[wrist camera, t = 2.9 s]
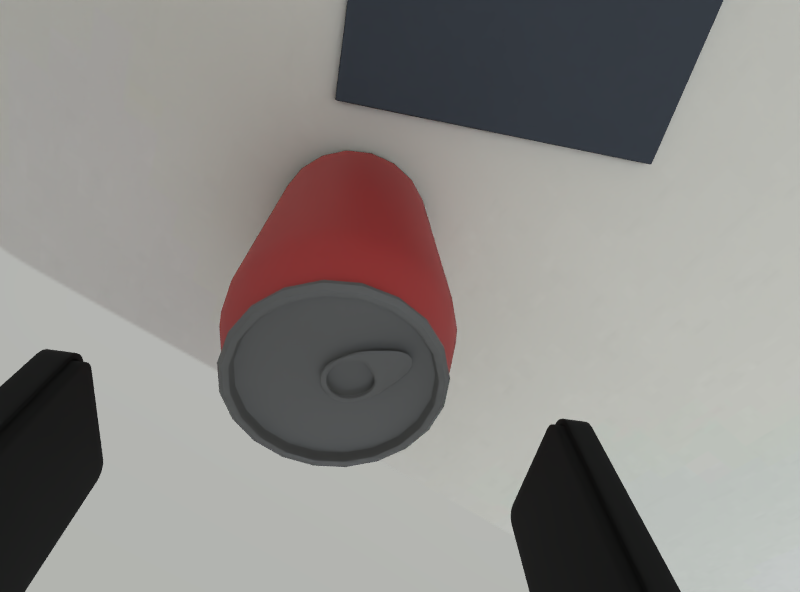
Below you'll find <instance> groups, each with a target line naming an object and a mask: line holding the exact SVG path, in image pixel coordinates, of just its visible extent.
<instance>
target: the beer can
mask: <svg viewBox="0 0 800 592" xmlns="http://www.w3.org/2000/svg"><path fill="white" fill-rule="evenodd" d="M456 334H457V326H456V320H455V314H454V308H453V302H452V297H451V294H450V290H449V287H448V284H447V280H446V277H445V274H444V270H443V267H442V264H441V260H440V257H439V254H438V250H437V247H436V244H435V240H434V237H433V234H432V230H431V227H430V224H429V220H428V217H427V214H426V210H425V207H424V204H423V200H422V198H421V197H420V195H419V193H418V191H417V189H416V187H415V186H414V184H413V182H412V180H411V179H410V178H409V177H408V176H407V175H406V174H404V173H403V172H402V171H401V170H400V169H399V168H398V167H397V166H396V165H395V164H394V163H391V162H389V161H387V160H385V159H383V158H380V157H378V156H376V155H374V154H372V153H364V152H355V151H342V152H338V153H333V154H328V155H324V156H321V157H320V158H318V159H316V160H315V161H313V162H311V163H310V164H308V165H306V166H305V167H303V168H302V169H301V170H300V171H299V173H298V174H297V175H296V176H295V177H294V179H293V180H292V181H291V182H290V183H289V185H288V186H287V188H286V189H285V191H284V193H283V194H282V196H281V198H280V199H279V201H278V203H277V204H276V206H275V208H274V209H273V211H272V213H271V215H270V216H269V218H268V220H267V221H266V223H265V225H264V226H263V228H262V230H261V231H260V233H259V235H258V236H257V238H256V240H255V241H254V243H253V245H252V247H251V248H250V250H249V252H248V253H247V255H246V257H245V258H244V260H243V262H242V263H241V265H240V267H239V268H238V270H237V272H236V274H235V275H234V277H233V279H232V280H231V283H230V286H229V289H228V292H227V296H226V299H225V302H224V305H223V308H222V311H221V318H220V341H221V353H220V356H219V359H218V362H217V366H218V379H219V392H220V394H221V396H222V398H223V400H224V402H225V405H226V406H227V409H228V411H229V413H230V415H231V417H232V419H233V420H234V421H235V422H236V423H237V424H238V425H239V426H240V427H241V428H242V429H243V430H244V431H245V432H246V433H247V434H248V435H249V436H250V437H251V438H252V439H253V440H254V441H256V442H258V443H259V444H261V445H263V446H264V447H266V448H268V449H270V450H272V451H273V452H275V453H277V454H279V455H281V456H282V457H285V458H289V459H293V460H296V461H300V462H304V463H307V464H311V465H316V466H338V467H347V466H353V465H358V464H364V463H370V462H375V461H379V460H381V459H383V458H385V457H388V456H390V455H392V454H394V453H397V452H399V451H401V450H403V449H406V448H407V447H408V446H409V445H411V444H412V443H413V442H414V441H416V440H417V439H418V438H419V437H420V436H422V435H423V434H424V433H425V432H427V431H428V430H429V429H430V427H431V425H432V424H433V422H434V421H435V419H436V418H437V416H438V415H439V413H440V411H441V410H442V408H443V407H444V404H445V399H446V394H447V390H448V385H449V380H450V376H449V372H450V367H451V363H452V358H453V353H454V348H455V343H456Z"/></svg>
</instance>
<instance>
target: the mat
mask: <svg viewBox="0 0 800 592" xmlns="http://www.w3.org/2000/svg"><path fill="white" fill-rule="evenodd" d="M722 2H723V0H348V2H347V10H346V18H345V26H344V34H343V42H342V50H341V58H340V66H339V74H338V82H337V90H336V98H335V99H336V100H338V101H343V102H347V103H352V104H357V105H362V106H367V107H372V108H377V109H382V110H387V111H392V112H396V113H401V114H406V115H411V116H416V117H421V118H426V119H431V120H436V121H441V122H445V123H450V124H455V125H460V126H465V127H470V128H475V129H480V130H485V131H490V132H494V133H499V134H504V135H509V136H514V137H519V138H524V139H529V140H534V141H539V142H543V143H548V144H553V145H558V146H563V147H568V148H573V149H578V150H583V151H588V152H593V153H597V154H602V155H607V156H612V157H617V158H622V159H627V160H632V161H637V162H642V163H646V164H652V162H653V159H654V157H655V155H656V153H657V150H658V148H659V146H660V143H661V141H662V139H663V137H664V134H665V132H666V130H667V127H668V125H669V123H670V121H671V118H672V116H673V114H674V111H675V109H676V107H677V105H678V102H679V100H680V98H681V96H682V93H683V91H684V89H685V86H686V84H687V82H688V80H689V77H690V75H691V73H692V70H693V68H694V66H695V64H696V61H697V59H698V57H699V54H700V52H701V50H702V48H703V45H704V43H705V41H706V39H707V36H708V34H709V32H710V29H711V27H712V25H713V23H714V20H715V18H716V16H717V13H718V11H719V9H720V7H721V4H722Z"/></svg>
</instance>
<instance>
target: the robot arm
mask: <svg viewBox="0 0 800 592" xmlns="http://www.w3.org/2000/svg"><path fill="white" fill-rule="evenodd" d="M102 466H103V457H102V448H101V440H100V432H99V425H98V418H97V410H96V402H95V394H94V386H93V378H92V371H91V366H90V364H89V363H87V362H83V359H82V357H81V355H80V354H77V353H71V352H64V351H56V350H48V349H46V350H42V351H40V352H39V353H37V354H36V355H35V356H34V357H33V358H32V359H31V360H29V362H27V363H26V364H25V365H24V366H23V367H22V368H21V369H20V370H19V371H17V372H16V373H15V374H14V375H13V376H12V377H11V378H10V379H8V380H7V381H6V382H5V383H4V384H3V385H2V386H1V387H0V592H25V590H26V589H27V587H28V586H29V584H30V583H31V581H32V580H33V578H34V577H35V575H36V574H37V572H38V570H39V569H40V567H41V566H42V564H43V563H44V561H45V560H46V558H47V557H48V555H49V554H50V552H51V551H52V549H53V548H54V546H55V544H56V543H57V541H58V540H59V538H60V537H61V535H62V534H63V532H64V530H65V529H66V528H67V526H68V525H69V523H70V522H71V520H72V518H73V517H74V515H75V514H76V512H77V511H78V509H79V508H80V506H81V505H82V503H83V501H84V500H85V499H86V497H87V495H88V494H89V492H90V491H91V489H92V488H93V486H94V485H95V483H96V482H97V480H98V478H99V476H100V474H101V471H102ZM511 523H512V527H513V531H514V535H515V539H516V542H517V546H518V550H519V554H520V557H521V561H522V565H523V569H524V572H525V576H526V580H527V584H528V587H529V591H530V592H681V591H680V589H679V588H678V586H677V584H676V582H675V580H674V578H673V577H672V575H671V573H670V571H669V569H668V567H667V565H666V564H665V562H664V560H663V558H662V556H661V554H660V552H659V551H658V549H657V547H656V545H655V543H654V541H653V540H652V538H651V536H650V534H649V532H648V530H647V528H646V527H645V525H644V523H643V521H642V519H641V517H640V515H639V514H638V512H637V510H636V508H635V506H634V504H633V503H632V501H631V499H630V497H629V495H628V493H627V491H626V490H625V488H624V486H623V484H622V482H621V480H620V478H619V477H618V475H617V473H616V471H615V469H614V467H613V465H612V464H611V462H610V460H609V458H608V456H607V454H606V453H605V451H604V449H603V447H602V445H601V443H600V441H599V440H598V438H597V436H596V434H595V432H594V430H593V428H592V427H591V426H590V424H589V423H587V422H582V421H575V420H568V419H560V420H558V421H557V422H556V424H555V425H550V426H549V427H548V429H547V431H546V433H545V435H544V437H543V440H542V442H541V444H540V446H539V448H538V451H537V453H536V455H535V457H534V459H533V462H532V464H531V466H530V468H529V470H528V473H527V475H526V477H525V479H524V481H523V484H522V486H521V488H520V490H519V492H518V495H517V497H516V499H515V501H514V504H513V506H512V510H511Z"/></svg>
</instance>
